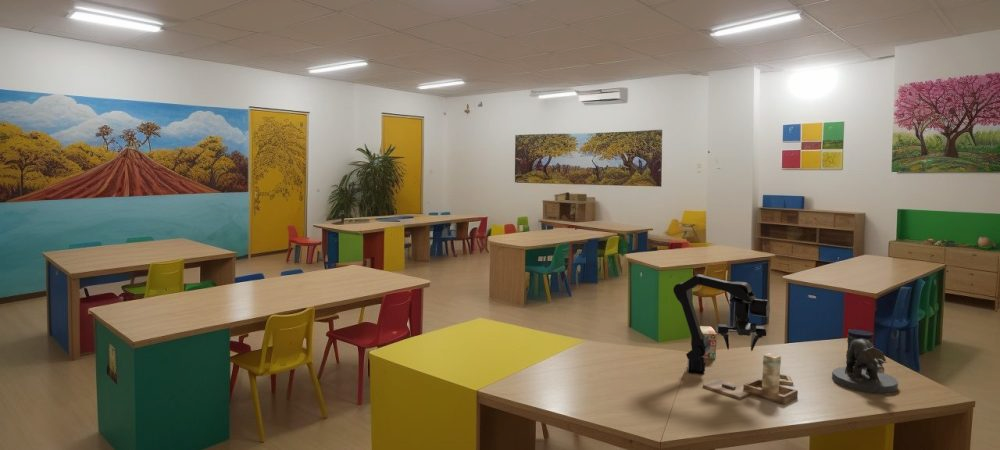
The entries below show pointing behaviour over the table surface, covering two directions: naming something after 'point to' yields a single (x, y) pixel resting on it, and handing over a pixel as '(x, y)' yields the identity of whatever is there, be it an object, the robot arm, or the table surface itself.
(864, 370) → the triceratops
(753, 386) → the tan wooden shallow tray
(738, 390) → the lid
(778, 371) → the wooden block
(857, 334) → the storage jar
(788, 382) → the square wooden frame
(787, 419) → the table surface
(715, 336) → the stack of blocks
